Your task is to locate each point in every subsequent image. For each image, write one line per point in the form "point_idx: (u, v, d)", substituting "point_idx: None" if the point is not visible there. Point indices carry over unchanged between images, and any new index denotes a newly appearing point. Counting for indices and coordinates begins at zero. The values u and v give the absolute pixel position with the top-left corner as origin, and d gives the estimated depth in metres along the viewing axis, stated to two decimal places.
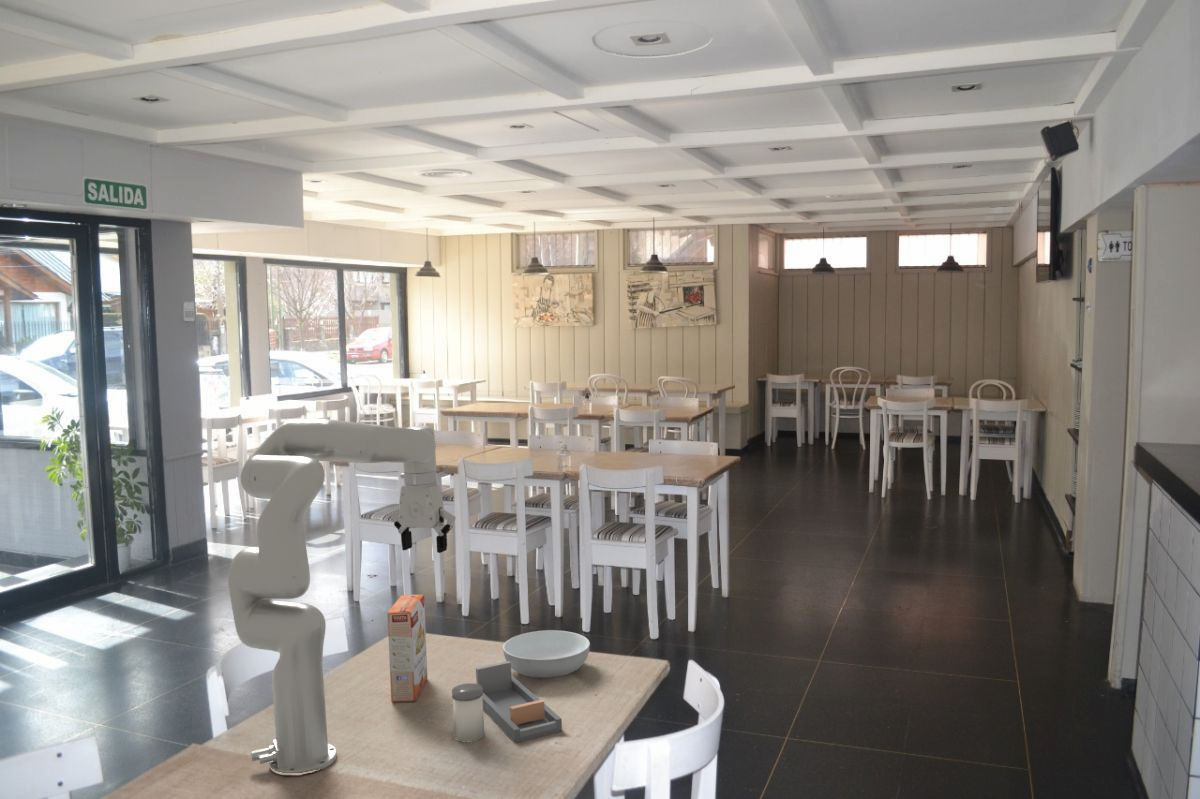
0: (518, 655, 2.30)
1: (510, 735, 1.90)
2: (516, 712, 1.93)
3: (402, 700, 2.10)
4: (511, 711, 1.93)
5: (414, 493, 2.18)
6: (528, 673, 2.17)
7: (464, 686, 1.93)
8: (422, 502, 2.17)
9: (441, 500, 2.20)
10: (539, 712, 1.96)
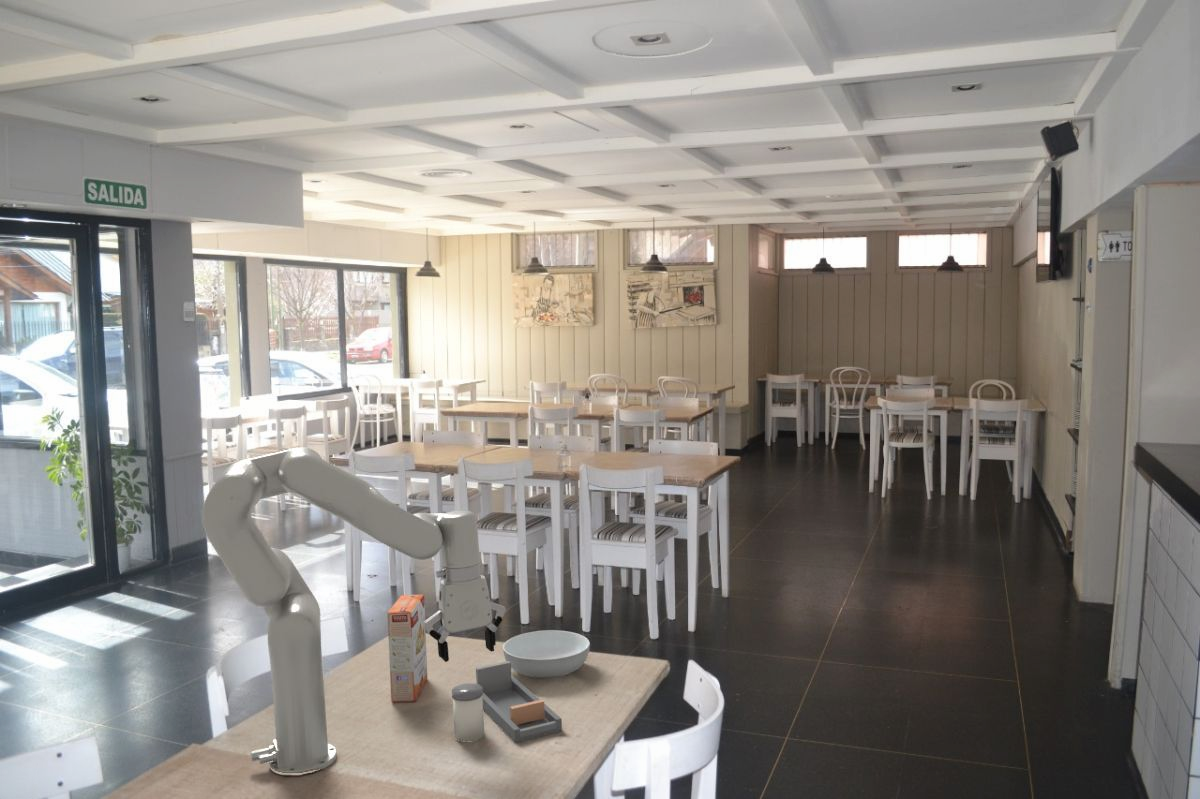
0: (518, 655, 2.30)
1: (510, 735, 1.90)
2: (516, 712, 1.93)
3: (402, 700, 2.10)
4: (511, 711, 1.93)
5: (467, 590, 1.87)
6: (528, 673, 2.17)
7: (464, 686, 1.93)
8: (477, 598, 1.88)
9: None
10: (539, 712, 1.96)
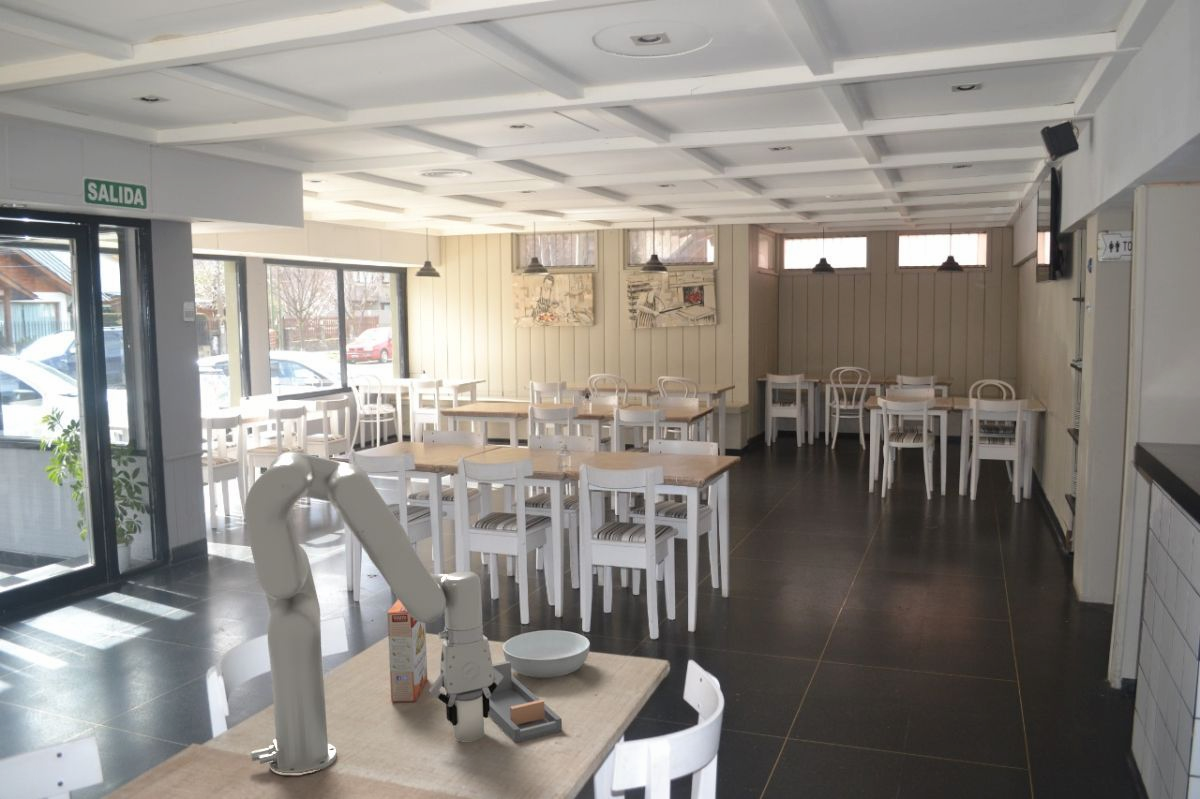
0: (518, 655, 2.30)
1: (510, 735, 1.90)
2: (516, 712, 1.93)
3: (402, 700, 2.10)
4: (511, 711, 1.93)
5: (469, 652, 1.88)
6: (528, 673, 2.17)
7: None
8: (479, 659, 1.89)
9: None
10: (539, 712, 1.96)
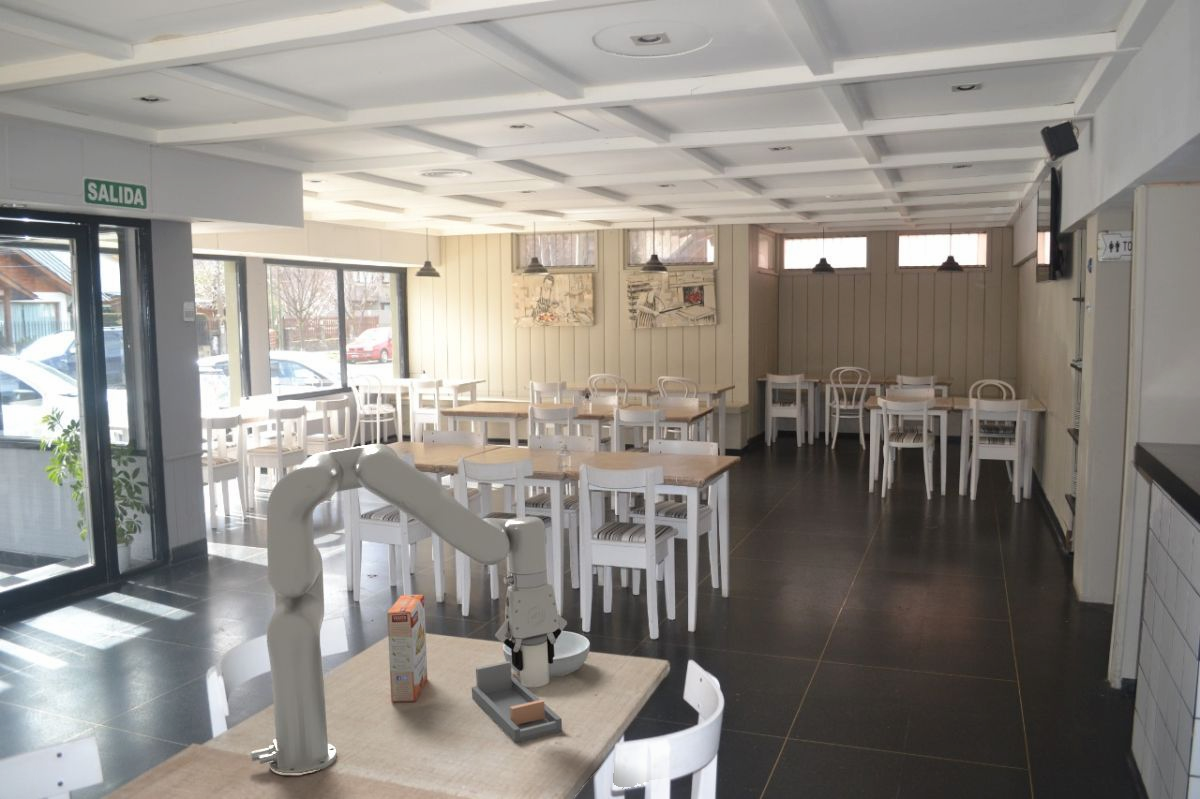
0: None
1: (510, 735, 1.90)
2: (516, 712, 1.93)
3: (402, 700, 2.10)
4: (511, 711, 1.93)
5: (534, 596, 1.87)
6: None
7: None
8: (544, 604, 1.88)
9: None
10: (539, 712, 1.96)
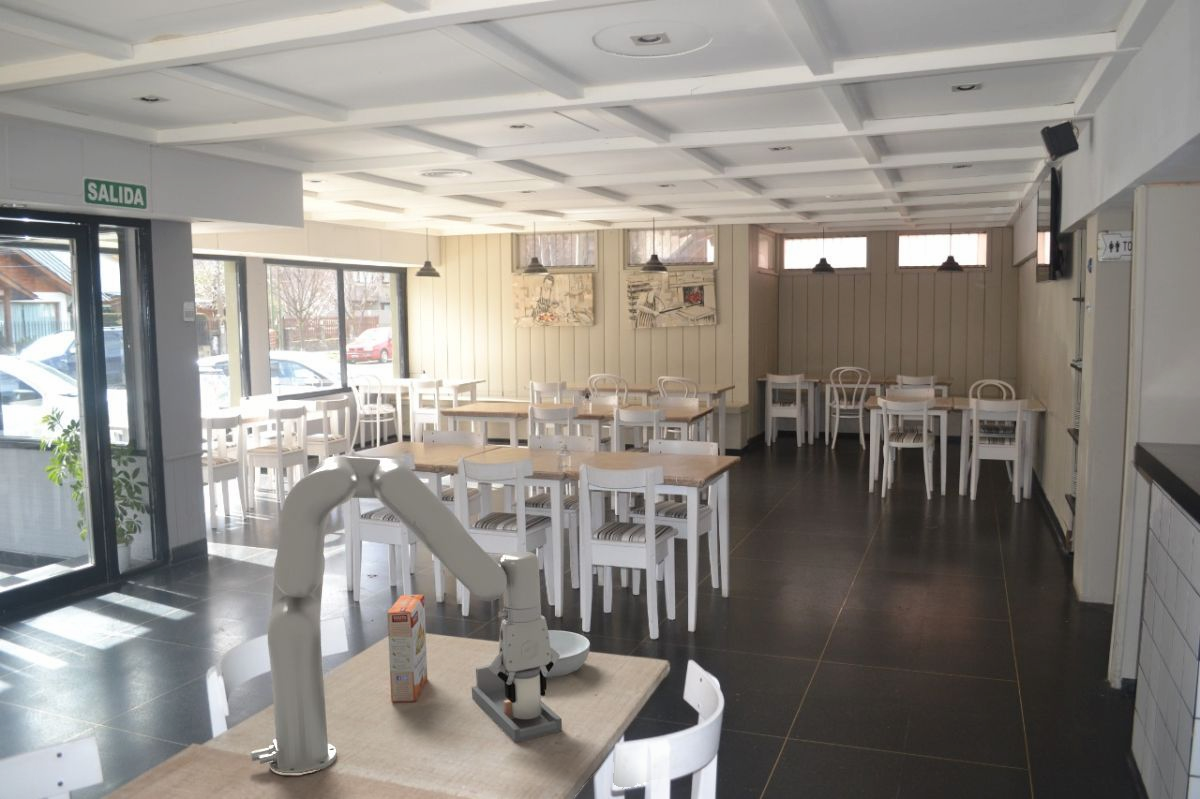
0: None
1: (510, 735, 1.90)
2: (510, 706, 1.97)
3: (402, 700, 2.10)
4: (505, 705, 1.96)
5: (528, 630, 1.91)
6: None
7: None
8: (537, 638, 1.92)
9: None
10: None
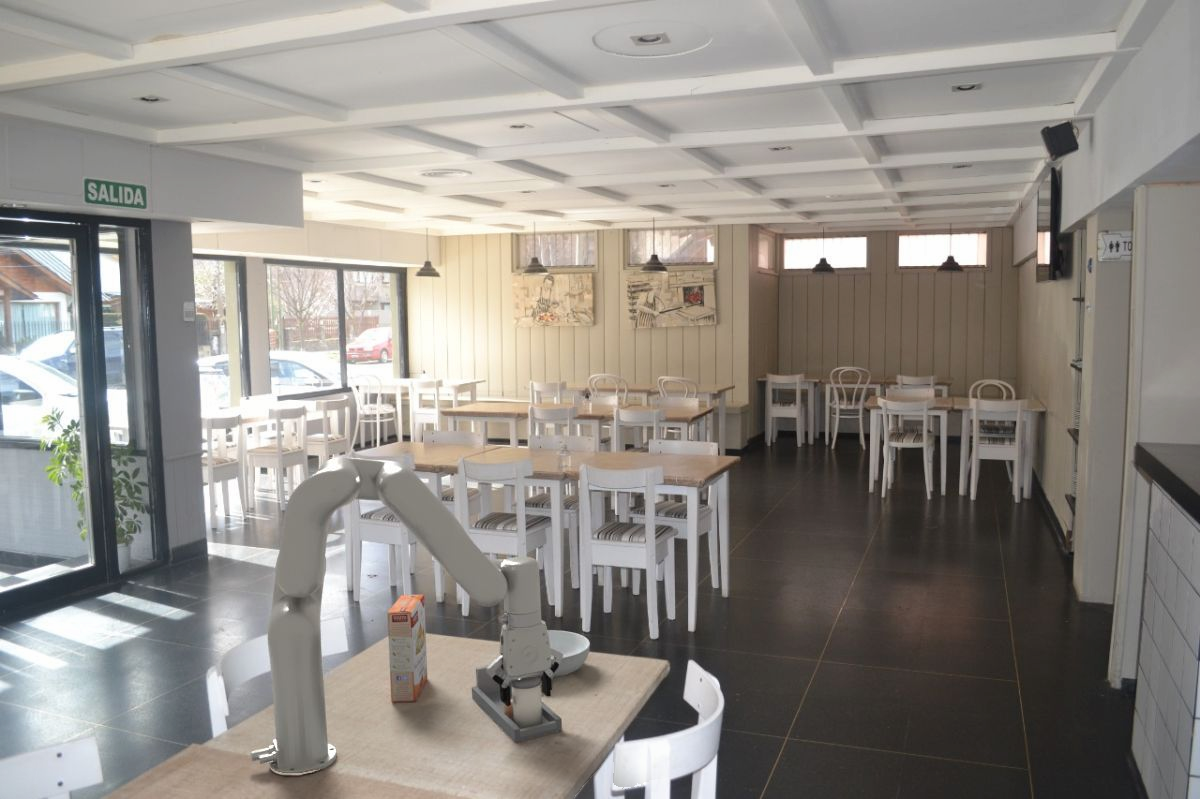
0: None
1: (510, 735, 1.90)
2: (510, 706, 1.96)
3: (402, 700, 2.10)
4: (505, 705, 1.96)
5: (528, 636, 1.91)
6: None
7: None
8: (538, 643, 1.92)
9: None
10: None
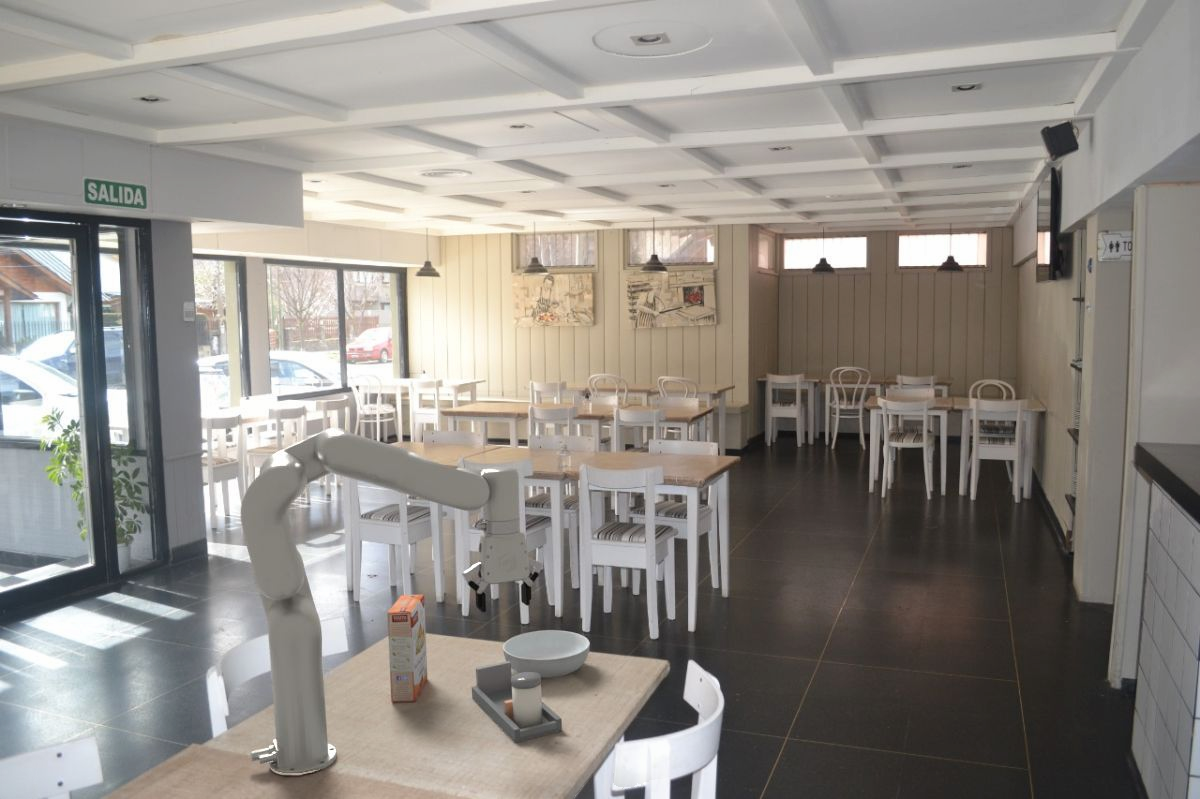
0: (518, 655, 2.30)
1: (510, 735, 1.90)
2: (510, 706, 1.96)
3: (402, 700, 2.10)
4: (505, 705, 1.96)
5: (506, 543, 1.92)
6: None
7: (522, 675, 1.96)
8: (516, 551, 1.93)
9: None
10: None
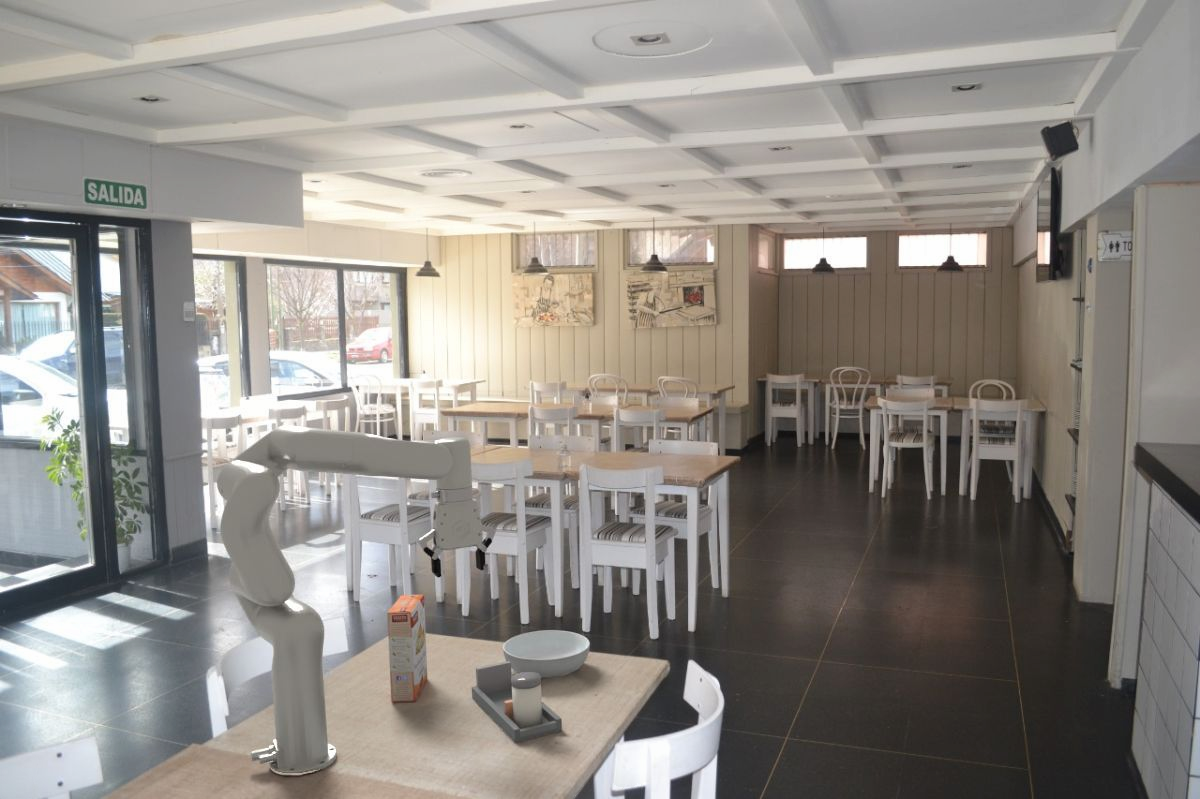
0: (518, 655, 2.30)
1: (510, 735, 1.90)
2: (510, 706, 1.96)
3: (402, 700, 2.10)
4: (505, 705, 1.96)
5: (459, 511, 2.00)
6: None
7: (522, 675, 1.96)
8: (469, 518, 2.01)
9: None
10: None
